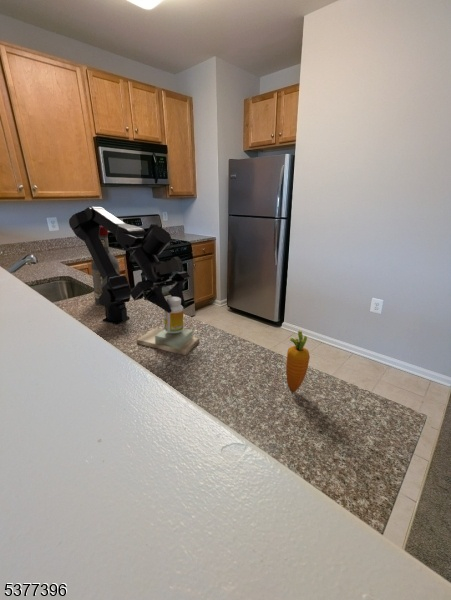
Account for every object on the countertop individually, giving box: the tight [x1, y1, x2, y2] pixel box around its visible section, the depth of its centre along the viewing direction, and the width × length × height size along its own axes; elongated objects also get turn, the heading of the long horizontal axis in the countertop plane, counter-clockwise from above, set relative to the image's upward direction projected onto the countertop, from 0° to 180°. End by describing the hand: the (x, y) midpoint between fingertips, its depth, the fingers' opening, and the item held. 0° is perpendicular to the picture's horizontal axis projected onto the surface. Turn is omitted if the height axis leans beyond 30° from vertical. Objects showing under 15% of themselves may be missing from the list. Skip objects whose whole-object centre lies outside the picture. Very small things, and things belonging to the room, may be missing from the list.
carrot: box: [285, 330, 310, 393], centre depth 61 cm, size 5×5×15 cm
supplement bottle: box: [163, 296, 184, 333], centre depth 79 cm, size 5×5×10 cm
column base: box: [136, 327, 200, 356], centre depth 82 cm, size 16×9×4 cm, turn 70°
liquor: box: [90, 225, 120, 307], centre depth 108 cm, size 9×9×30 cm
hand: (177, 309), depth 78 cm, fingers closed on supplement bottle, 5 cm apart
